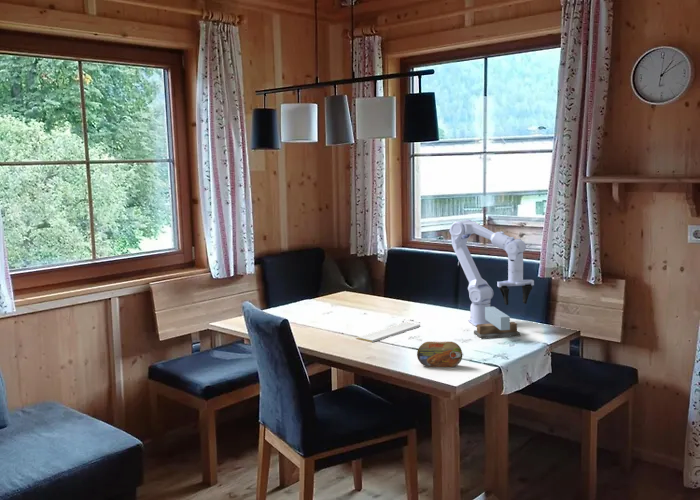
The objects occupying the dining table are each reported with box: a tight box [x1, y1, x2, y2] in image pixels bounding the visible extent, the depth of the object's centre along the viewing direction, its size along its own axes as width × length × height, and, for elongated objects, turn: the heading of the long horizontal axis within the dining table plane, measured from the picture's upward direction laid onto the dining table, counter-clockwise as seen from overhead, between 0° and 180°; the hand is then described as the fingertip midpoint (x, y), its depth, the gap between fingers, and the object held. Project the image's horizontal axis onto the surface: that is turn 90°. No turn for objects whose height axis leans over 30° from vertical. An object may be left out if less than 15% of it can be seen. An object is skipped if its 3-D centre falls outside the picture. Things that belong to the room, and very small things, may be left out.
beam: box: [485, 306, 511, 330], centre depth 263 cm, size 18×4×5 cm, turn 8°
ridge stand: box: [473, 321, 522, 339], centre depth 263 cm, size 16×8×4 cm, turn 98°
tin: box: [416, 341, 463, 368], centre depth 227 cm, size 15×3×8 cm, turn 80°
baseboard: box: [355, 318, 421, 343], centre depth 273 cm, size 30×3×10 cm
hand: (515, 303), depth 270 cm, fingers open, 7 cm apart
